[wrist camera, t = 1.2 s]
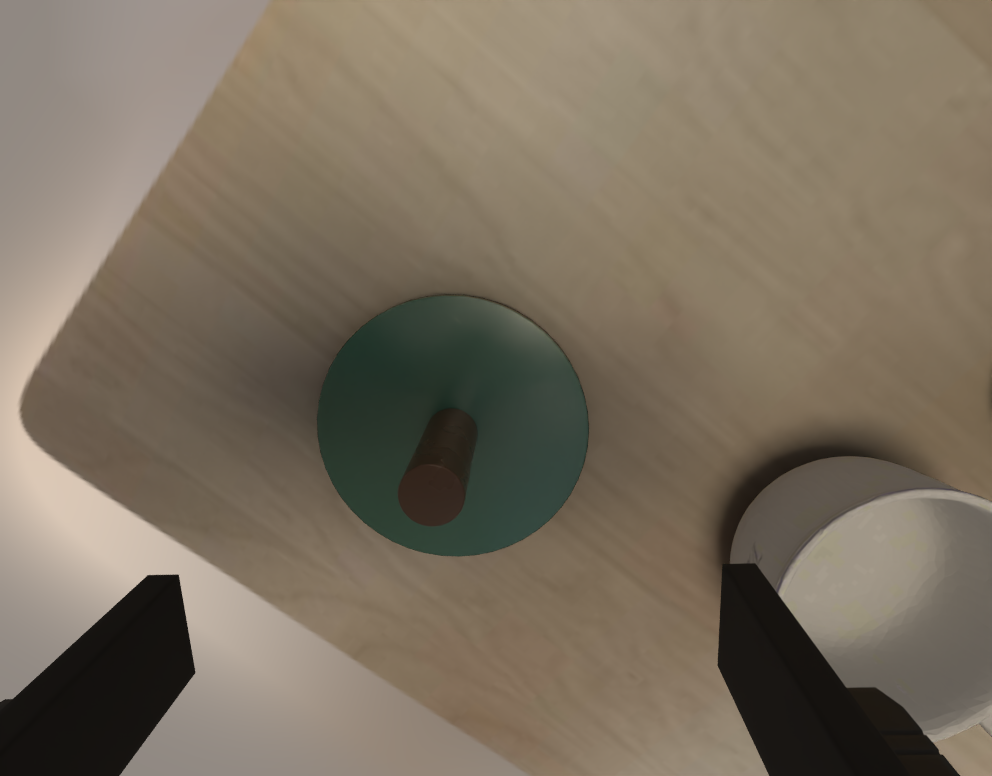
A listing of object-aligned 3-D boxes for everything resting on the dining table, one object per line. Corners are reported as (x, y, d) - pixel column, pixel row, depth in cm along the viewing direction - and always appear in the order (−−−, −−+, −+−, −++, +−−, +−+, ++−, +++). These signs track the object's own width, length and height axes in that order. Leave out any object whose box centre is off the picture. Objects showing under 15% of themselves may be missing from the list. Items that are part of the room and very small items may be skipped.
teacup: (669, 504, 31) (720, 592, 24) (870, 387, 30) (995, 440, 22) (803, 707, 34) (888, 846, 26) (995, 608, 32) (1147, 726, 24)
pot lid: (283, 474, 32) (198, 560, 23) (394, 243, 29) (343, 245, 21) (507, 586, 33) (504, 707, 24) (635, 373, 30) (682, 427, 22)
